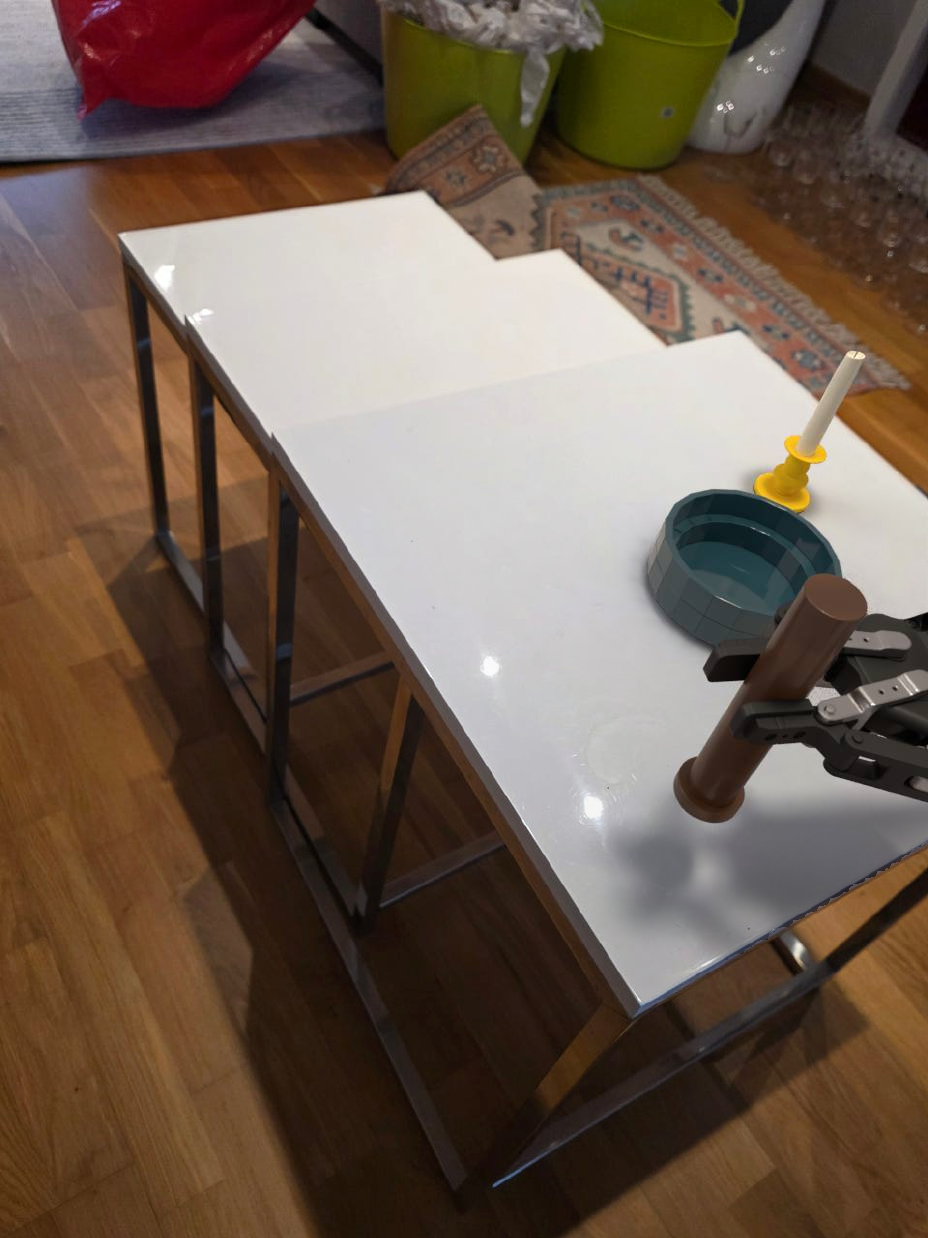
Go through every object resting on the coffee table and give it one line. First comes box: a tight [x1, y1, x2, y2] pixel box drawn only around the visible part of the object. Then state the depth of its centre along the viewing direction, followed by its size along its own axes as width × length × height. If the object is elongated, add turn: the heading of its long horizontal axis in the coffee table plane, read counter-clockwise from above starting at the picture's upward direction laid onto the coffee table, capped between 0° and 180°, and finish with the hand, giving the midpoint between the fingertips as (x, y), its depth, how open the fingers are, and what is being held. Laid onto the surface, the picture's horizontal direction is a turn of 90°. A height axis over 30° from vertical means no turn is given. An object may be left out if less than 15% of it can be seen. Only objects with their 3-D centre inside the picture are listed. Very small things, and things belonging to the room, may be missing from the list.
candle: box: [753, 348, 866, 514], centre depth 83 cm, size 5×5×16 cm
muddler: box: [672, 574, 869, 824], centre depth 50 cm, size 4×4×17 cm
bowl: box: [647, 488, 844, 648], centre depth 77 cm, size 14×14×5 cm
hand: (724, 692), depth 48 cm, fingers closed on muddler, 3 cm apart
